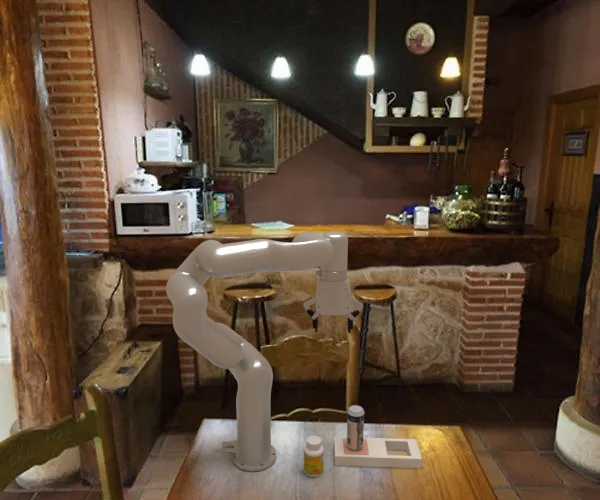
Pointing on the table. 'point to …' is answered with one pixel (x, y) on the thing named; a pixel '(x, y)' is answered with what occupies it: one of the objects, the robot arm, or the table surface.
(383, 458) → the well board
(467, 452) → the table surface
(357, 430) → the beer can
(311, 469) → the supplement bottle
